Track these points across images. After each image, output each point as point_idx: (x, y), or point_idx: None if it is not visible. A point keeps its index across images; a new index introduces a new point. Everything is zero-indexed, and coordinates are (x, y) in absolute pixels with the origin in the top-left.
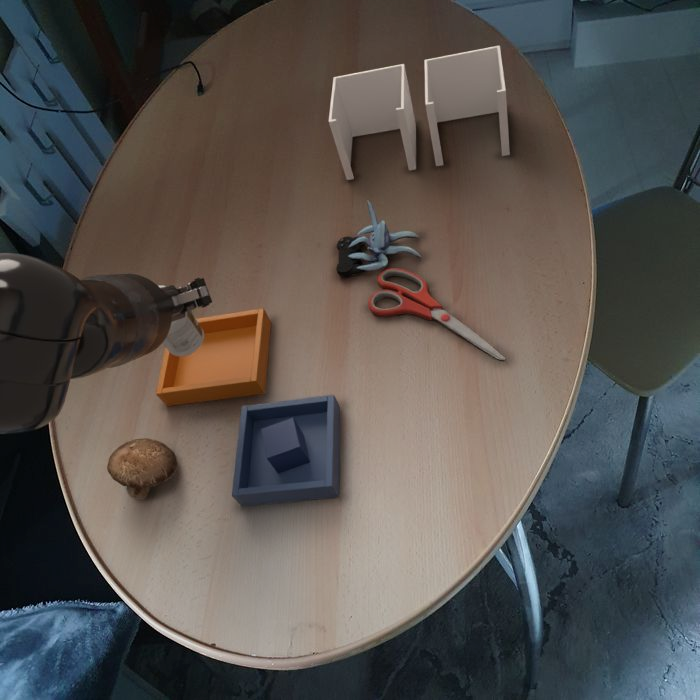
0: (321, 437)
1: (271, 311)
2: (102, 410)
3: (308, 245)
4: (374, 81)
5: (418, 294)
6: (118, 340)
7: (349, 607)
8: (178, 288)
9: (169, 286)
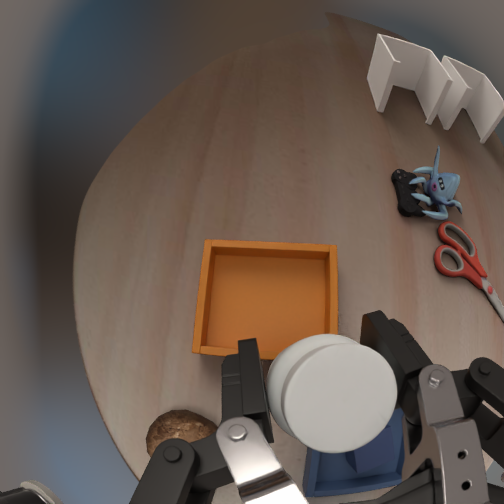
0: (394, 422)
1: (328, 239)
2: (121, 334)
3: (357, 164)
4: (406, 50)
5: (473, 259)
6: None
7: None
8: (434, 382)
9: (479, 442)
